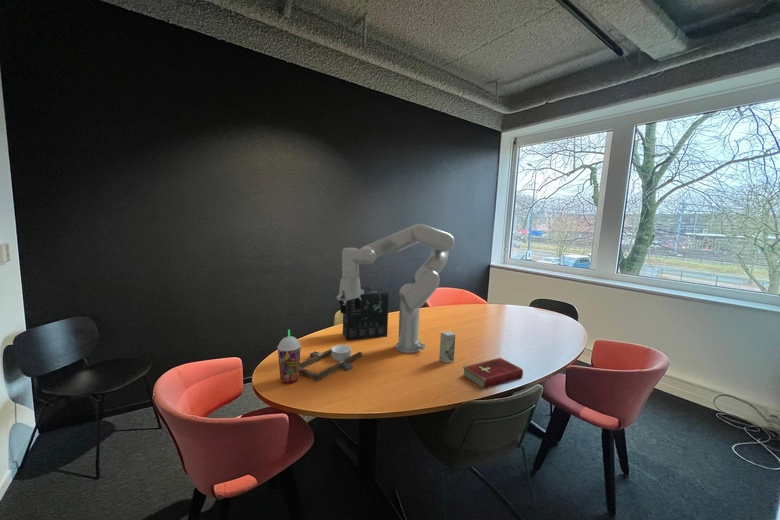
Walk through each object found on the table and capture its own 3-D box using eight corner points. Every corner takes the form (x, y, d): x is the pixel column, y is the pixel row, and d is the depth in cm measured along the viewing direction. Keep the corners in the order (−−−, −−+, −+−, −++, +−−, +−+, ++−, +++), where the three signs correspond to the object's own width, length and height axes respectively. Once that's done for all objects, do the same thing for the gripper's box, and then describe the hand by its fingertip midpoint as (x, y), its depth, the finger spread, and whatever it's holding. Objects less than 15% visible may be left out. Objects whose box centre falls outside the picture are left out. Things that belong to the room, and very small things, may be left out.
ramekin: (353, 360, 141) (353, 351, 141) (333, 363, 138) (333, 353, 138) (348, 352, 150) (348, 343, 149) (329, 354, 147) (329, 345, 146)
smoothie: (288, 388, 117) (287, 335, 114) (273, 381, 121) (272, 330, 119) (305, 378, 124) (305, 328, 121) (290, 373, 128) (290, 324, 126)
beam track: (368, 358, 143) (368, 353, 143) (324, 384, 120) (324, 378, 120) (332, 347, 155) (332, 342, 155) (286, 368, 132) (286, 363, 132)
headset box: (381, 329, 182) (382, 284, 179) (388, 336, 171) (389, 289, 168) (341, 333, 175) (342, 286, 171) (346, 341, 163) (347, 291, 160)
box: (444, 364, 140) (446, 335, 138) (438, 360, 144) (440, 332, 142) (454, 361, 142) (455, 333, 141) (448, 357, 146) (449, 330, 145)
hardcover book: (522, 378, 130) (523, 368, 129) (483, 390, 120) (484, 379, 119) (499, 366, 140) (500, 357, 140) (462, 375, 130) (462, 366, 130)
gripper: (357, 271, 156) (357, 305, 159) (330, 276, 143) (331, 313, 145) (369, 273, 152) (369, 308, 154) (343, 278, 138) (343, 316, 140)
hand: (350, 310), depth 149 cm, fingers open, 9 cm apart
